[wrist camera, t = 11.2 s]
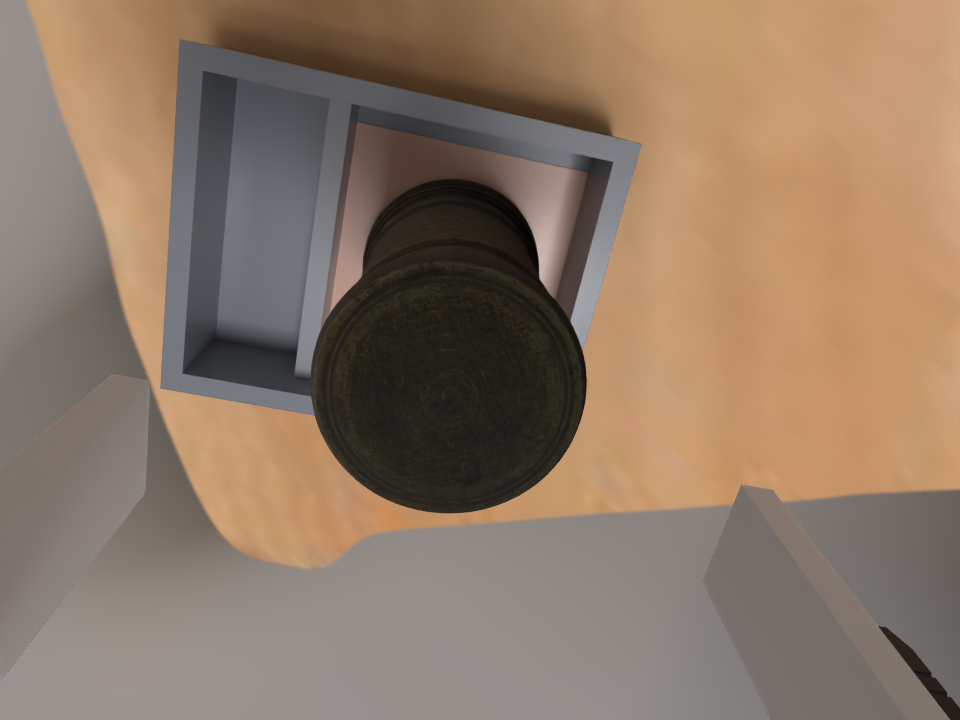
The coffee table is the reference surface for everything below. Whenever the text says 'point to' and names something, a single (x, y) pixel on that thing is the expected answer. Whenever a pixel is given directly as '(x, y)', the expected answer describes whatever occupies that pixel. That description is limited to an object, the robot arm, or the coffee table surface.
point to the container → (448, 356)
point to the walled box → (343, 208)
